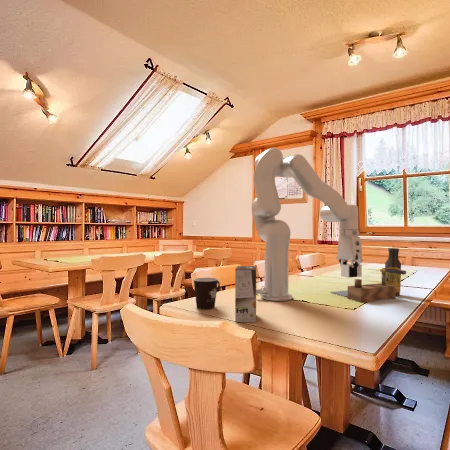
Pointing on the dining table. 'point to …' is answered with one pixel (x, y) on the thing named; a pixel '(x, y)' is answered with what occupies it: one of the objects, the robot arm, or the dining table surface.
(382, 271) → the lever
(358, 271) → the lever cap
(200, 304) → the coffee mug
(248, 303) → the coffee box
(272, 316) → the dining table surface
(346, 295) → the felt pad
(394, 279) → the sauce bottle
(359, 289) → the body
